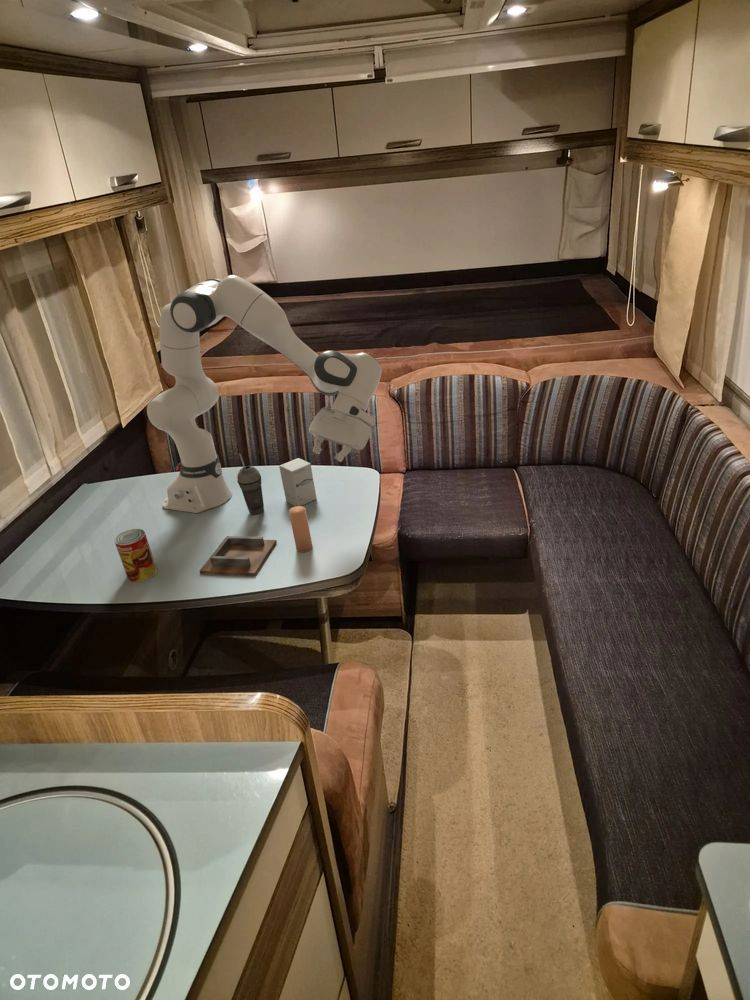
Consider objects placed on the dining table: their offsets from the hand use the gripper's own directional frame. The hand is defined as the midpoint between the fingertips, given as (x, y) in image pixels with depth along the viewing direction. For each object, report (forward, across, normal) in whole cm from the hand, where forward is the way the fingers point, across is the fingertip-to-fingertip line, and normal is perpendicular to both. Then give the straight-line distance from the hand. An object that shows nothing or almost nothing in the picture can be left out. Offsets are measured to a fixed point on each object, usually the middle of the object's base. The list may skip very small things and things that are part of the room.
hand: (326, 456), depth 173 cm
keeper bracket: (+35, -11, -3) cm, 37 cm away
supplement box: (+13, -24, +19) cm, 33 cm away
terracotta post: (+25, 0, +7) cm, 26 cm away
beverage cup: (+22, -29, +10) cm, 38 cm away
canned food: (+50, -27, -18) cm, 60 cm away
